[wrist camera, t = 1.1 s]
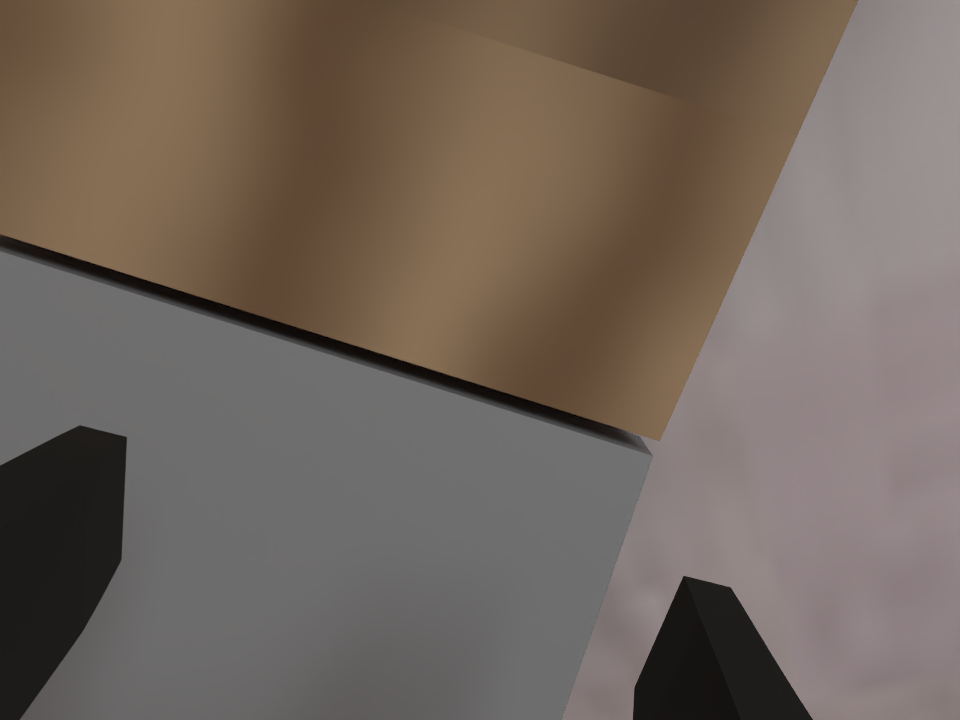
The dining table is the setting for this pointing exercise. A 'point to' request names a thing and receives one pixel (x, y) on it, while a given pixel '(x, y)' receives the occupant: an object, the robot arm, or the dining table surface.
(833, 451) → the dining table surface
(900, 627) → the dining table surface
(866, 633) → the dining table surface
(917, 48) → the dining table surface
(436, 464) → the loose plank
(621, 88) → the laid boards
